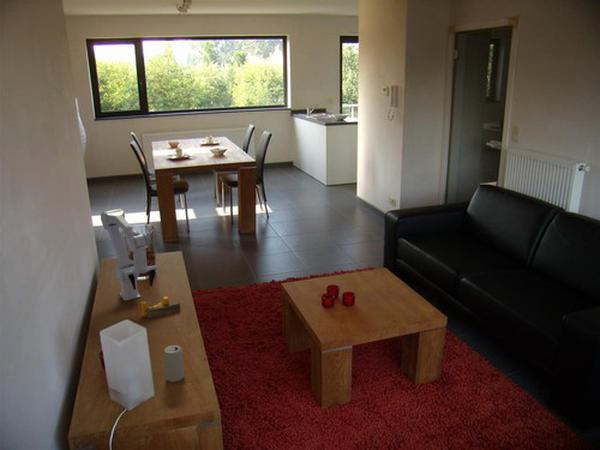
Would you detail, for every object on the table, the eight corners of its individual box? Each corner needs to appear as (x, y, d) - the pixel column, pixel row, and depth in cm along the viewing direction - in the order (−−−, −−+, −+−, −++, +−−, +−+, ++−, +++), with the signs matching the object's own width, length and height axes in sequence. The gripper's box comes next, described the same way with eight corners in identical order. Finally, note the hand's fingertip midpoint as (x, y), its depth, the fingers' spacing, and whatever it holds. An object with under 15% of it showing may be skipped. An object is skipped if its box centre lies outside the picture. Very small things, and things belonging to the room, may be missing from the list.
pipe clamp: (166, 307, 237) (165, 294, 235) (169, 310, 233) (168, 298, 232) (141, 313, 231) (139, 300, 229) (143, 317, 227) (142, 304, 225)
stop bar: (146, 316, 228) (145, 309, 227) (178, 308, 236) (178, 301, 235) (148, 318, 226) (147, 311, 225) (180, 310, 234) (179, 303, 233)
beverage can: (185, 381, 179) (182, 351, 176) (166, 384, 177) (163, 354, 174) (183, 371, 185) (181, 343, 182) (165, 374, 183) (163, 345, 180)
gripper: (126, 265, 225) (129, 293, 229) (158, 259, 233) (160, 286, 236) (122, 261, 231) (125, 288, 235) (153, 255, 238) (156, 281, 242)
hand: (142, 287), depth 236 cm, fingers open, 7 cm apart
